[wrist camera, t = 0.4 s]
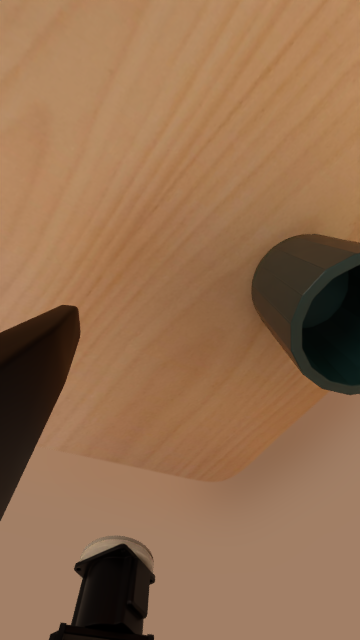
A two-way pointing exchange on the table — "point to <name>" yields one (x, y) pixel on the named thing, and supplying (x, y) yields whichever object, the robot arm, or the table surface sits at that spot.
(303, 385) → the table surface
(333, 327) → the tin
